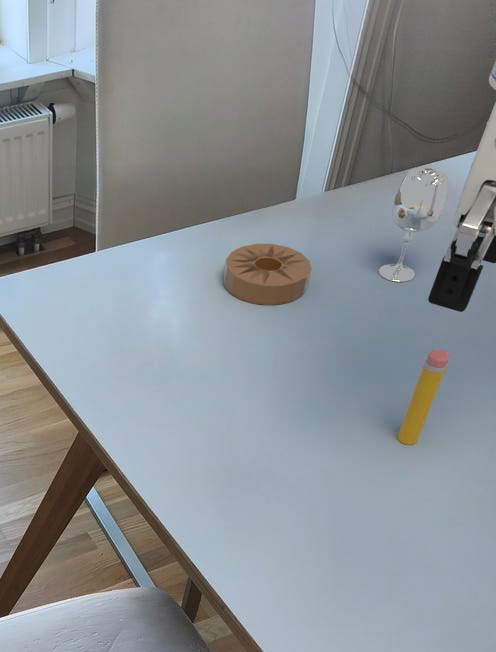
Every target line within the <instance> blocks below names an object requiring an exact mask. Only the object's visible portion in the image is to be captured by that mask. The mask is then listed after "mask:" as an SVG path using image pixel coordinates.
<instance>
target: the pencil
mask: <svg viewBox="0 0 496 652" xmlns="http://www.w3.org/2000/svg"><path fill="white" fill-rule="evenodd" d="M450 359H451V358H450V354H449V353H448V352H446V351H445V350H441V349H433V350H431V351H429V353H428V355H427V358H426V360H425V362H424V365H423V367H422V369H421V372H420V375H419V378H418V380H417V383H416V385H415V388H414V390H413V394H412V396H411V399H410V401H409V405H408V407H407V410H406V412H405V414H404V417H403V420H402V423H401V425H400V428H399V431H398V434H397V441H398V442H399V443H401V444H404V445H408V446H412V445H415V444H416V443H417V442H418V440H419V437H420V435H421V433H422V430H423V427H424V426H425V425H424V424H425V422H426V420H427V417H428V415H429V413H430V410H431V408H432V404H433V403H434V400H435V397H436V395H437V392H438V391H439V387H440V385H441V383H442V379H443V377H444V375H445V372H446V370H447V367H448V364H449V361H450Z"/></svg>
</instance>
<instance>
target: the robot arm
mask: <svg viewBox="0 0 496 652" xmlns="http://www.w3.org/2000/svg"><path fill="white" fill-rule="evenodd" d="M488 83H489V85H490V87H491V88H492V89H494V91H496V59H495V60H494V62H493V66H492V69H491V72H490V74H489V77H488ZM485 125H486V126H485V128H484V131H483V134H482V136H481V139H480V142H479V144H478V146H477V150H476V152H475V155H474V157H473V160H472V163H471V165H470V168H469V171H468V173H467V176H466V179H465V182H464V185H463V187H462V190H461V194H460V197H459V200H458V202H457V205H456V209H455V212H454V215H453V219H452V220H453V221H452V222H453V224H454V226H455V228H456V231H455V233H454V236H453V237H452V240H451V242H450V244H449V246H448V247H447V250H446V253H445V254H444V256H443V257H442V260H441V262H440V264H439V268H438V270H437V272H436V275H435V278H434V281H433V284H432V287H431V288H430V289H431V290H430V292H429V295H428V298H427V301H428V302H429V304H431V305H436V306H439V307H442V308H446V309H449V310H452V311H456V312H459V313H461V312H464V311H465V310H466V309H467V307H468V306H469V304H470V301H471V298H472V296H473V293H474V292H475V288H476V286H477V283H478V281H479V278H480V276H481V273H482V271H483V269H484V265H482V264H481V263H482V262H487V263H490V264H496V101H495V102H494V105H493V108H492V110H491V113H490V115H489V117H488V120H487V122H486V124H485Z"/></svg>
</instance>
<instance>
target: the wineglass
mask: <svg viewBox="0 0 496 652" xmlns="http://www.w3.org/2000/svg"><path fill="white" fill-rule="evenodd" d="M448 185H449V176H448V175H447V174H446V173H445V172H444V171H442V170H439V169H437V168H432V167H431V168H430V167H415V168H412V169H410V170H408V172H407V173H406V175H405V177H404V178H403V180H402V182H401V184H400V186H399V187H398V190H397V192H396V195H395V197H394V200H393V203H392V209H391V217H392V220H393V222H394V224H395V225H396V226H397V227H398V228H399V229H400V230H403V231H405V232H406V233H404V236H403V237H402V238H403V239H402V249H401V253H400V256H399V258H398V261H397V263H386V264H383V265H381V266H380V267H379V269H378V274H379V275H380V277H382V278H383V279H385V280H388V281H390V282H395V283H405V282H411V281H412V280H413V279H414V278H415V277H416V272H415V270H414V269H413V268H411V267H410V266H408V265H404V263H403V261H404V258H405V254H406V251H407V249H408V248H409V245H410V243H412V241H413V237H414V234H413V233H419V232H424V231H427V230H429V229H431V228H432V227H434V225H435V224H436V223H437V222H438V221H439V219H440V218H441V216H442V213H443V211H444V208H445V205H446V201H447V196H448Z"/></svg>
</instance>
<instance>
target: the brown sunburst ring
mask: <svg viewBox="0 0 496 652" xmlns="http://www.w3.org/2000/svg"><path fill="white" fill-rule="evenodd" d="M311 265H312V264H311V261H310V259H309V258H307V257H306V255H304V254H303V253H302V252H300V251H298V250H297V249H294V248H291V247H289V246H285V245H279V244H277V243H276V244H275V243H253V244H248V245H243V246H240V247H238V248H236V249H234V250H233V251H231V252H230V253H229V255H228V256H227V257H226V259H225V263H224V270H223V275H222V276H223V277H222V278H223V280H222V284H223V286H224V288H225V290H226V291H227V292H228V293H229V294H230V295H231V296H232V297H235V298H236V299H239V300H240V301H243V302H246V303H249V304H254V305H261V306H278V305H284V304H288V303H291V302H294V301H296V300H297V299H300V298H301V297H302V296H303V295H304V294H305V292H306V290H307V288H308V285H309V281H310V277H311V273H312V266H311Z"/></svg>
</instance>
